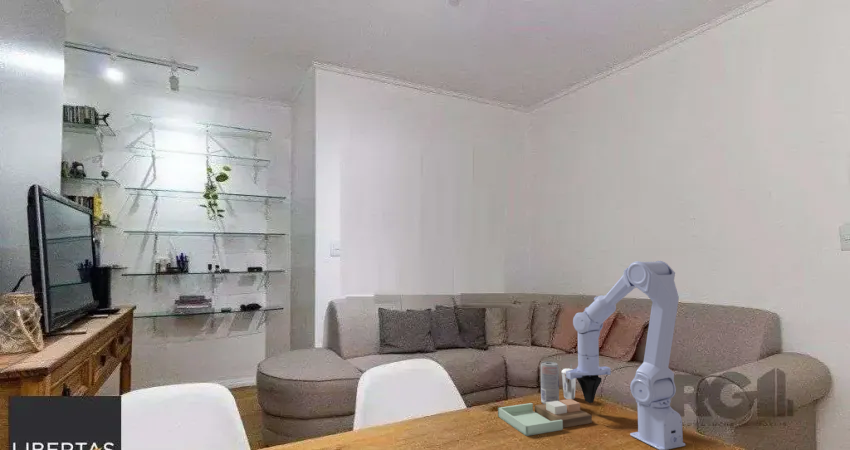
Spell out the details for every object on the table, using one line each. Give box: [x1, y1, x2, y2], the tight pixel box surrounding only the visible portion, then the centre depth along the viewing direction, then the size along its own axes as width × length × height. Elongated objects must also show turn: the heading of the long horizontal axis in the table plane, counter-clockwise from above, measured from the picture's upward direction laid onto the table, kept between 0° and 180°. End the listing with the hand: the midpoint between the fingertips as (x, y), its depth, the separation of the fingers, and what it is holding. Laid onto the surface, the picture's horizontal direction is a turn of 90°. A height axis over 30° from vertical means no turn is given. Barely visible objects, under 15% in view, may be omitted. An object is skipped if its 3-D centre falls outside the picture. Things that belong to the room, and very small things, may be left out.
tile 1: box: [546, 401, 567, 414], centre depth 122 cm, size 4×4×2 cm
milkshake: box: [560, 363, 577, 400], centre depth 140 cm, size 4×5×10 cm
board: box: [534, 403, 593, 429], centre depth 123 cm, size 12×10×2 cm
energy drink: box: [540, 360, 560, 404], centre depth 135 cm, size 5×5×12 cm
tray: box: [497, 402, 564, 437], centre depth 119 cm, size 14×11×2 cm
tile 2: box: [559, 398, 581, 412], centre depth 124 cm, size 4×4×2 cm
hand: (589, 401), depth 126 cm, fingers closed
